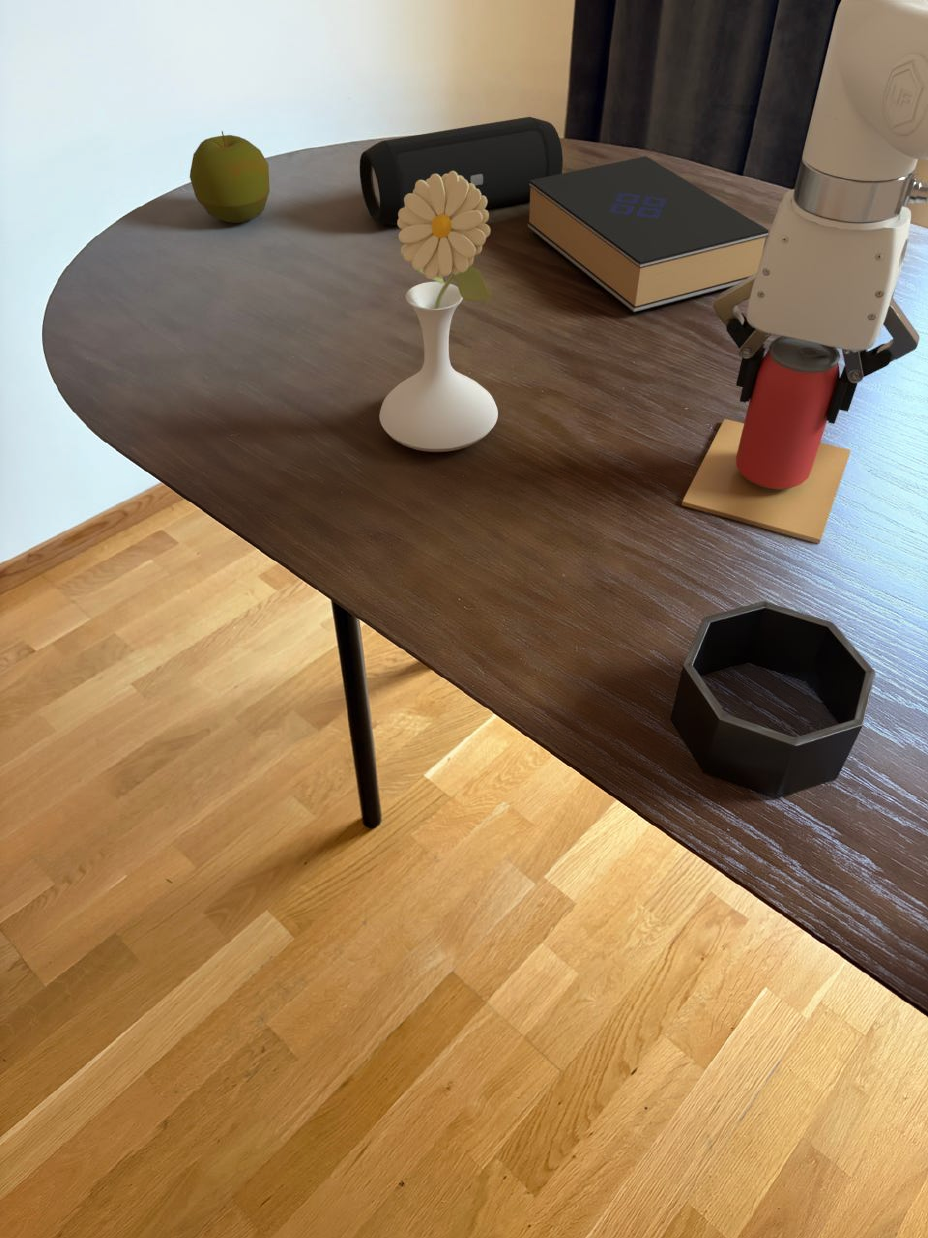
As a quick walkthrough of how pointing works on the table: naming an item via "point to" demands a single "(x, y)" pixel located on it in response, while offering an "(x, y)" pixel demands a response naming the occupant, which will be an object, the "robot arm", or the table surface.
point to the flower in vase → (441, 317)
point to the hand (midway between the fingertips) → (790, 402)
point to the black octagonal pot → (787, 650)
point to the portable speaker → (461, 163)
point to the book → (645, 232)
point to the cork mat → (766, 489)
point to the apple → (230, 178)
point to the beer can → (787, 413)
